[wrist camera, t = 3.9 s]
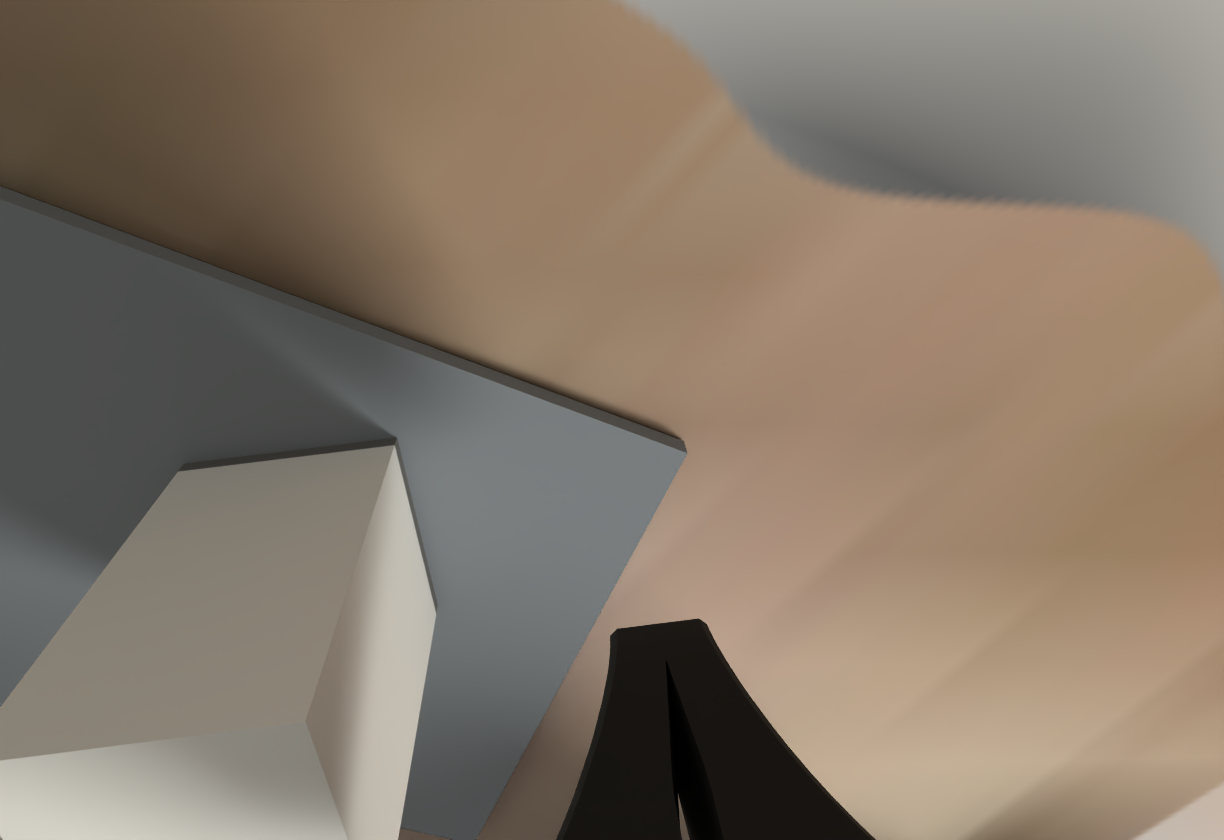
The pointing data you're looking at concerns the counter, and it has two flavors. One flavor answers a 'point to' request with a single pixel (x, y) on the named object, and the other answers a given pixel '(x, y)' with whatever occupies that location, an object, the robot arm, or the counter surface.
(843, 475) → the counter surface
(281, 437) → the rubber mat
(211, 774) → the cream block
